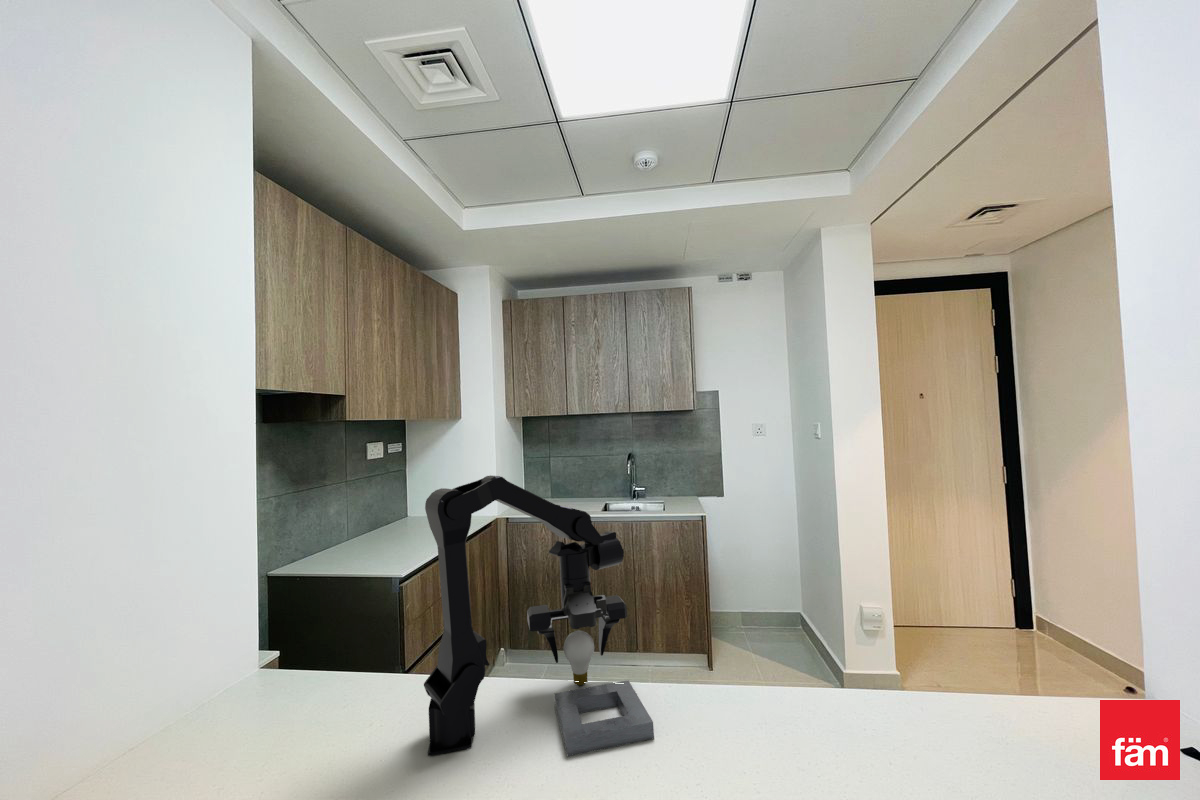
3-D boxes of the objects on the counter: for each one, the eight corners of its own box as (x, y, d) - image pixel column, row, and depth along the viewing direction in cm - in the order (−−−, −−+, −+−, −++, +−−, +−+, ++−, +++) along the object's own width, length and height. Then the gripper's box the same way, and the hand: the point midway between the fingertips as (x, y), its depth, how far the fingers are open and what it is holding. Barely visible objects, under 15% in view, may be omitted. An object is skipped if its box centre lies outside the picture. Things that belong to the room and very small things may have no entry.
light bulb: (595, 693, 89) (593, 637, 90) (564, 694, 89) (561, 638, 90) (596, 677, 95) (594, 624, 96) (566, 678, 95) (564, 626, 96)
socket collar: (567, 756, 72) (566, 739, 72) (555, 708, 85) (554, 693, 85) (654, 738, 75) (653, 721, 75) (629, 694, 88) (628, 680, 88)
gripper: (530, 593, 84) (534, 687, 83) (633, 580, 88) (638, 669, 87) (525, 576, 95) (528, 659, 94) (617, 565, 99) (621, 644, 98)
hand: (579, 658), depth 93 cm, fingers open, 8 cm apart
